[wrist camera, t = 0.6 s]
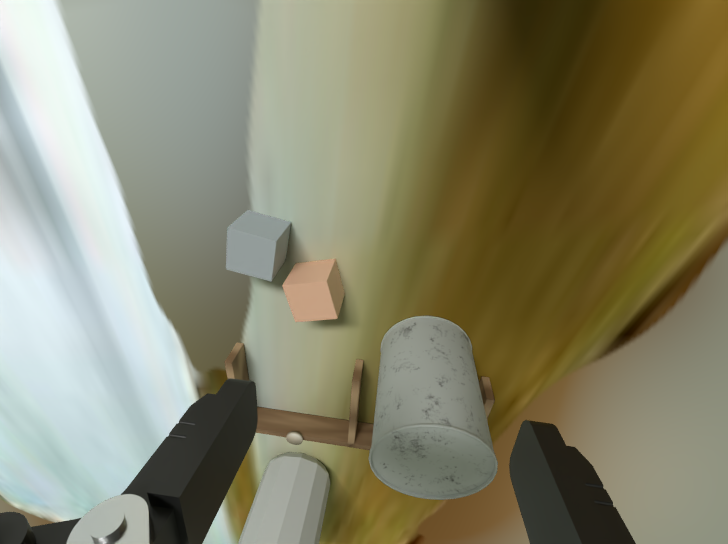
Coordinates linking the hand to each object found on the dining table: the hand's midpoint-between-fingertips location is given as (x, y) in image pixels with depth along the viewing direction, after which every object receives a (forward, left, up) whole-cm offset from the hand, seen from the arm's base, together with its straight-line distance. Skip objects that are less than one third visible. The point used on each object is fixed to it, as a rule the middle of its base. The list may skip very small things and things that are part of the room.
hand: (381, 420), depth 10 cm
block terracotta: (+9, -7, -21) cm, 24 cm away
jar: (+43, -10, -21) cm, 49 cm away
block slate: (+5, -12, -21) cm, 25 cm away
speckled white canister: (+16, +5, -21) cm, 27 cm away
